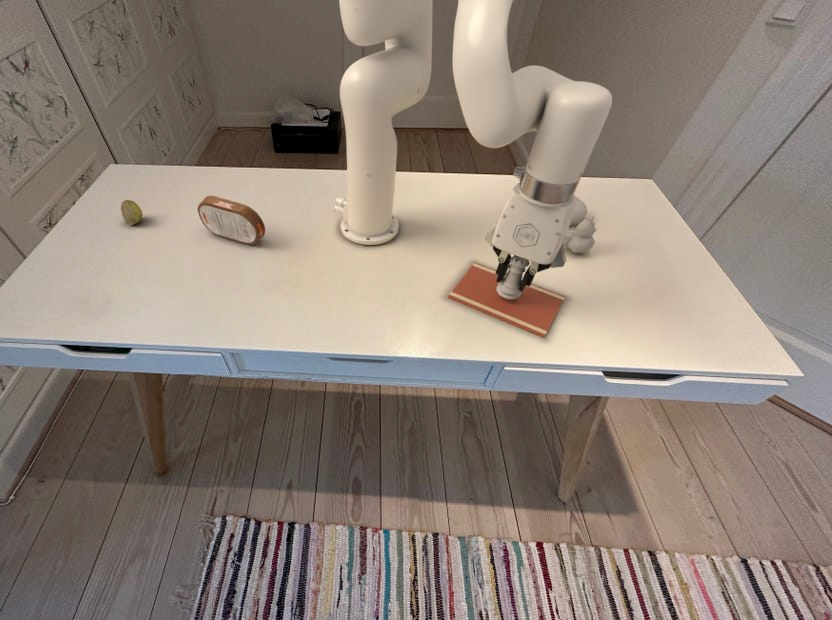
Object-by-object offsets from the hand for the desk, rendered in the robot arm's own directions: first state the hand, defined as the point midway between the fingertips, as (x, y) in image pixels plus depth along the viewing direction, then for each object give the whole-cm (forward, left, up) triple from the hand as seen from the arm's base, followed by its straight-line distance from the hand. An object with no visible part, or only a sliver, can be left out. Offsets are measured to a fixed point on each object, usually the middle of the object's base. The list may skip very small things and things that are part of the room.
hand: (512, 281), depth 75 cm
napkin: (0, 0, -4) cm, 4 cm away
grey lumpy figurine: (+6, +22, -4) cm, 23 cm away
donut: (0, +33, -4) cm, 33 cm away
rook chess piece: (0, 0, -3) cm, 3 cm away
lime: (-78, -22, -4) cm, 81 cm away
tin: (-55, -14, -4) cm, 57 cm away
